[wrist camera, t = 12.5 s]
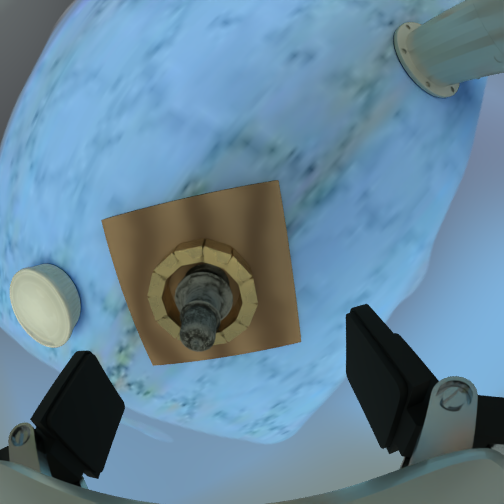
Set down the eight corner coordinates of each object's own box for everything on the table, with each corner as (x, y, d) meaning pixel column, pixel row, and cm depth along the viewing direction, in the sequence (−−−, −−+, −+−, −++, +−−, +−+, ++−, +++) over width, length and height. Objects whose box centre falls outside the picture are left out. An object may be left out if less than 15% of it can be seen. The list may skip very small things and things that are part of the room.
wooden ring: (243, 230, 29) (245, 237, 25) (260, 320, 32) (264, 336, 28) (145, 250, 28) (135, 259, 25) (172, 334, 31) (167, 351, 28)
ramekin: (31, 313, 30) (13, 329, 25) (29, 246, 28) (6, 257, 23) (87, 340, 32) (72, 360, 27) (90, 271, 29) (69, 287, 24)
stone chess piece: (198, 250, 29) (180, 299, 17) (242, 279, 30) (252, 341, 19) (170, 291, 30) (143, 354, 18) (213, 318, 31) (208, 389, 20)
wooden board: (276, 180, 28) (278, 180, 27) (299, 337, 34) (301, 341, 33) (105, 218, 28) (101, 220, 27) (154, 361, 33) (153, 365, 32)
